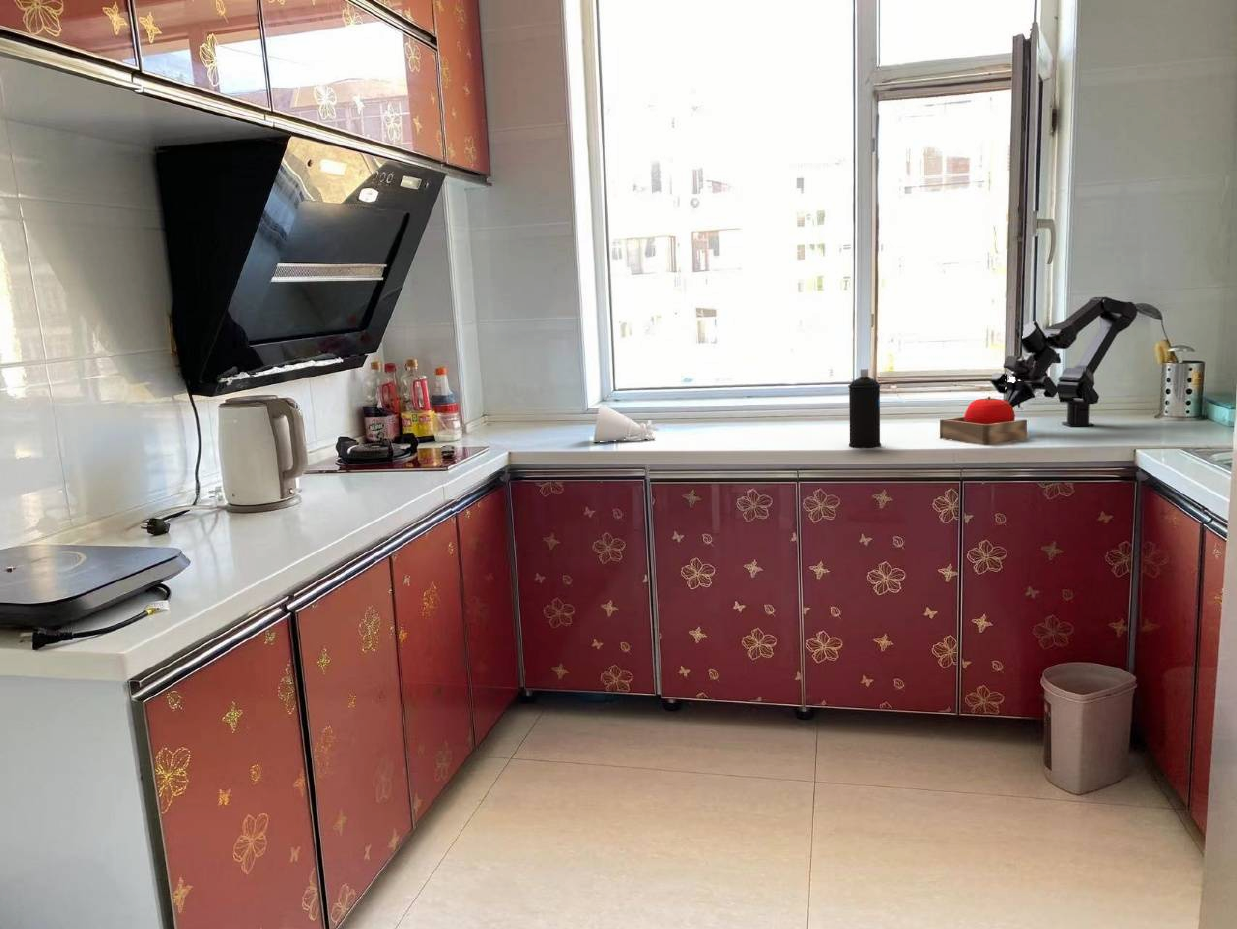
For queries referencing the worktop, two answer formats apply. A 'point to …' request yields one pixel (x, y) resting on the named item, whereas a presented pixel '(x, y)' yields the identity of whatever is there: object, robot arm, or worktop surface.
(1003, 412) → the tomato
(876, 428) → the aerosol can
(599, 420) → the rocket engine
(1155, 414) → the worktop surface
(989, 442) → the tray
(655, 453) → the worktop surface
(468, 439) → the worktop surface
